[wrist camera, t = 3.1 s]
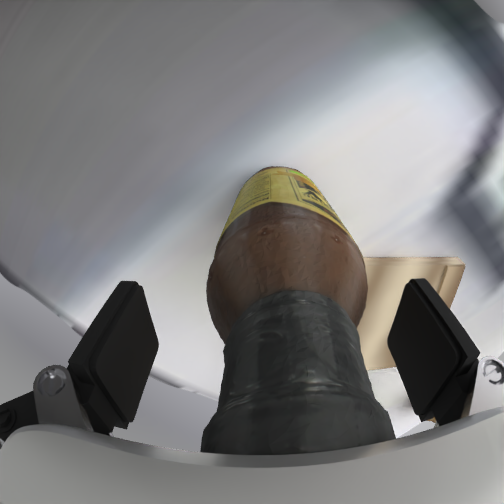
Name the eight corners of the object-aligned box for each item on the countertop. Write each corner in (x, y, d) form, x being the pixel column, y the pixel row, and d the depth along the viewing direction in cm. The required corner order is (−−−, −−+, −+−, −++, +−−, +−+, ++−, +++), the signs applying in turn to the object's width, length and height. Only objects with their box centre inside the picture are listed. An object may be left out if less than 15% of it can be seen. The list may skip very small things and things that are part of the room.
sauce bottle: (326, 224, 22) (425, 484, 5) (254, 247, 24) (228, 517, 6) (303, 149, 20) (498, 376, 2) (225, 175, 21) (76, 440, 3)
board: (457, 257, 23) (467, 266, 21) (419, 353, 29) (424, 364, 28) (241, 257, 24) (239, 268, 22) (246, 365, 30) (245, 377, 29)
